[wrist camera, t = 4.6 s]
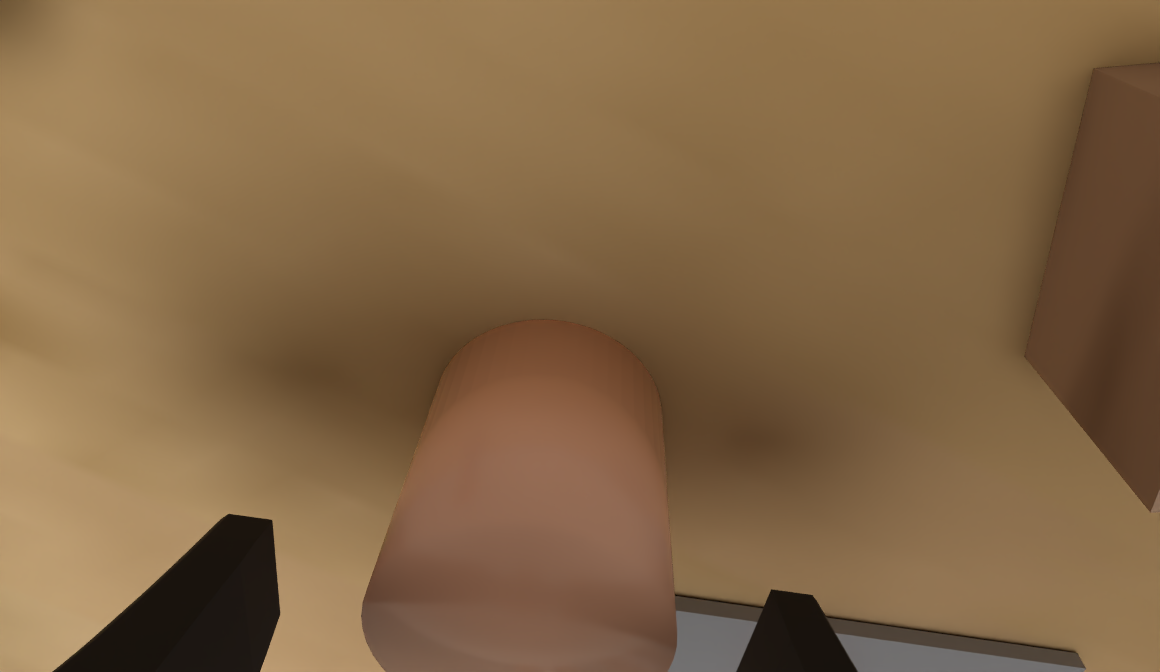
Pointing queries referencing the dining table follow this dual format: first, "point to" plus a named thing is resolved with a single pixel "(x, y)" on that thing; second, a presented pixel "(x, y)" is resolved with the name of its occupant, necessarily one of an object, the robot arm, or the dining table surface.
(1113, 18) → the dining table surface
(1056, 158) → the dining table surface
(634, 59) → the dining table surface
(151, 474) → the dining table surface
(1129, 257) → the walnut block
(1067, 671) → the slate board
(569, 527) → the rounded peach cylinder
